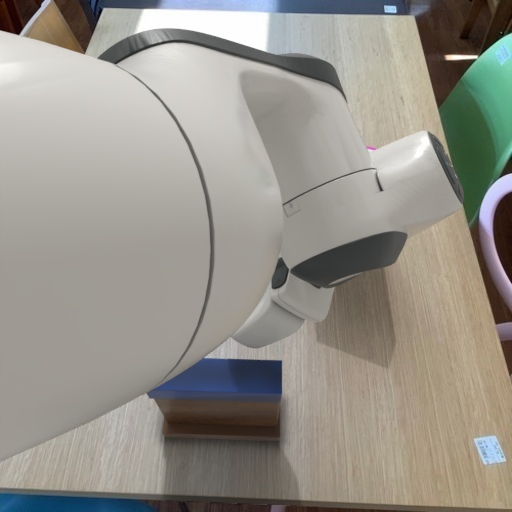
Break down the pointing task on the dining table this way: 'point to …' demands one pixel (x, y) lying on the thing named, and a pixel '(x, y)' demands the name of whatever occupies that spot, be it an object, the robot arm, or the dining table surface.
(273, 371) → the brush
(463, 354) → the dining table surface
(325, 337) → the dining table surface
